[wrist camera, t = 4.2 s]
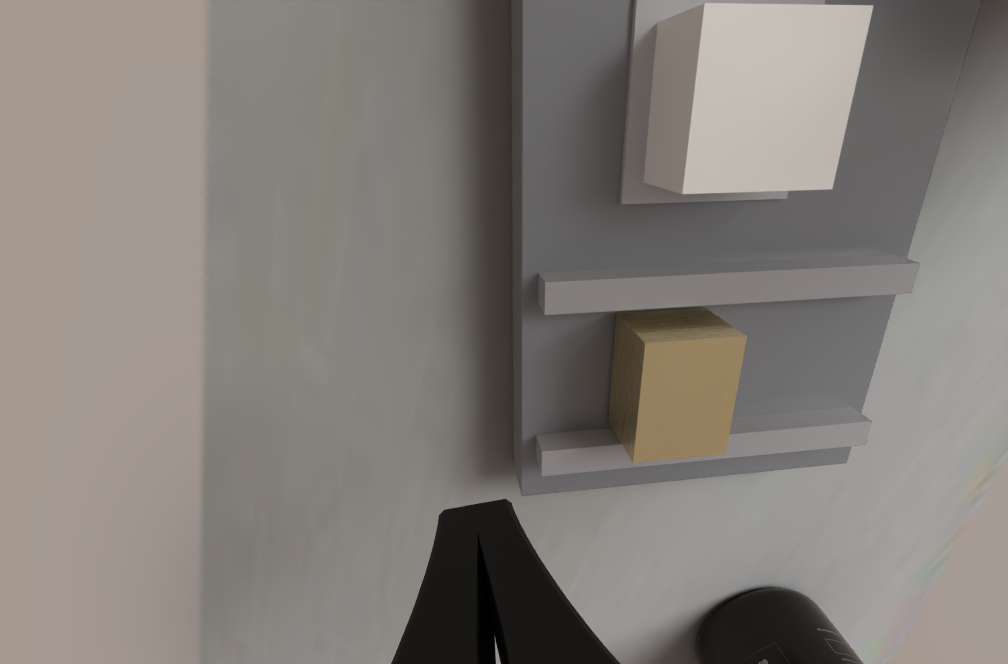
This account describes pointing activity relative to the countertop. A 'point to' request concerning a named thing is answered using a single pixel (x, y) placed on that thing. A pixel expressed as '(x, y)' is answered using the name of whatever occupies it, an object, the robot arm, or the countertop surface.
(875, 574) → the countertop surface
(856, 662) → the supplement bottle
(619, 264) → the grey ridged tray
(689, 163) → the off-white button
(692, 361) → the wood grain block
